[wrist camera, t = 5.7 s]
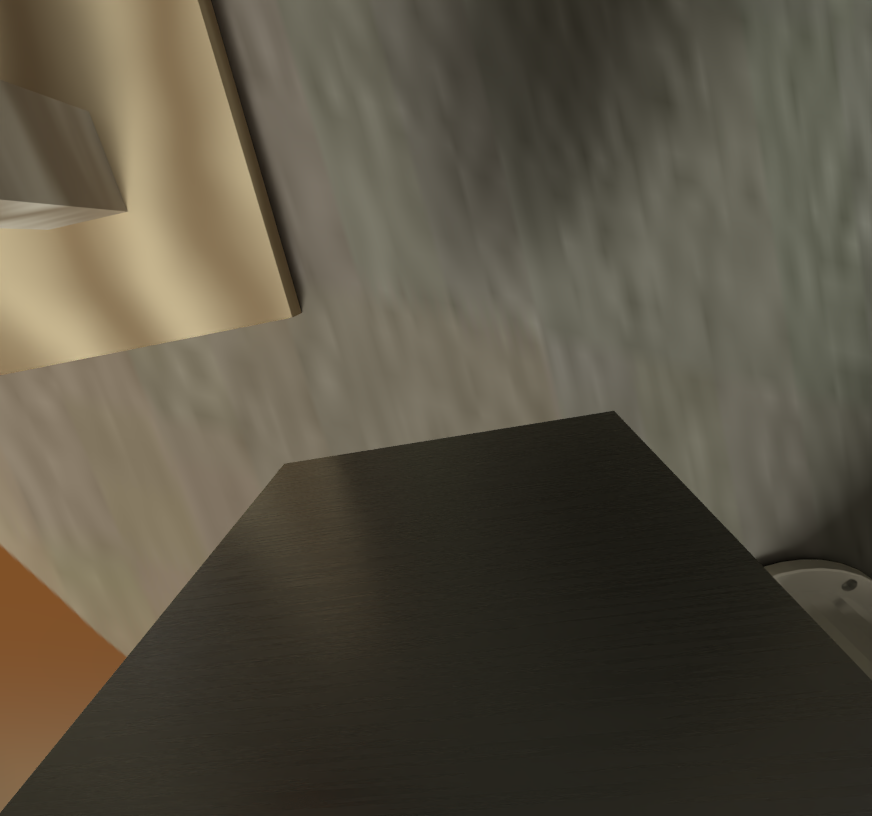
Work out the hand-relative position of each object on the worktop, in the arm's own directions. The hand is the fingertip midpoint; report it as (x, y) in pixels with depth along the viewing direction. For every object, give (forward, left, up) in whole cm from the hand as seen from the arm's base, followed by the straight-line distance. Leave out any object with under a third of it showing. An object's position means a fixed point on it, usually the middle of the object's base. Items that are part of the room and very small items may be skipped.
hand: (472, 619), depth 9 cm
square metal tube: (0, 0, -1) cm, 1 cm away
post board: (+15, -13, -16) cm, 26 cm away
